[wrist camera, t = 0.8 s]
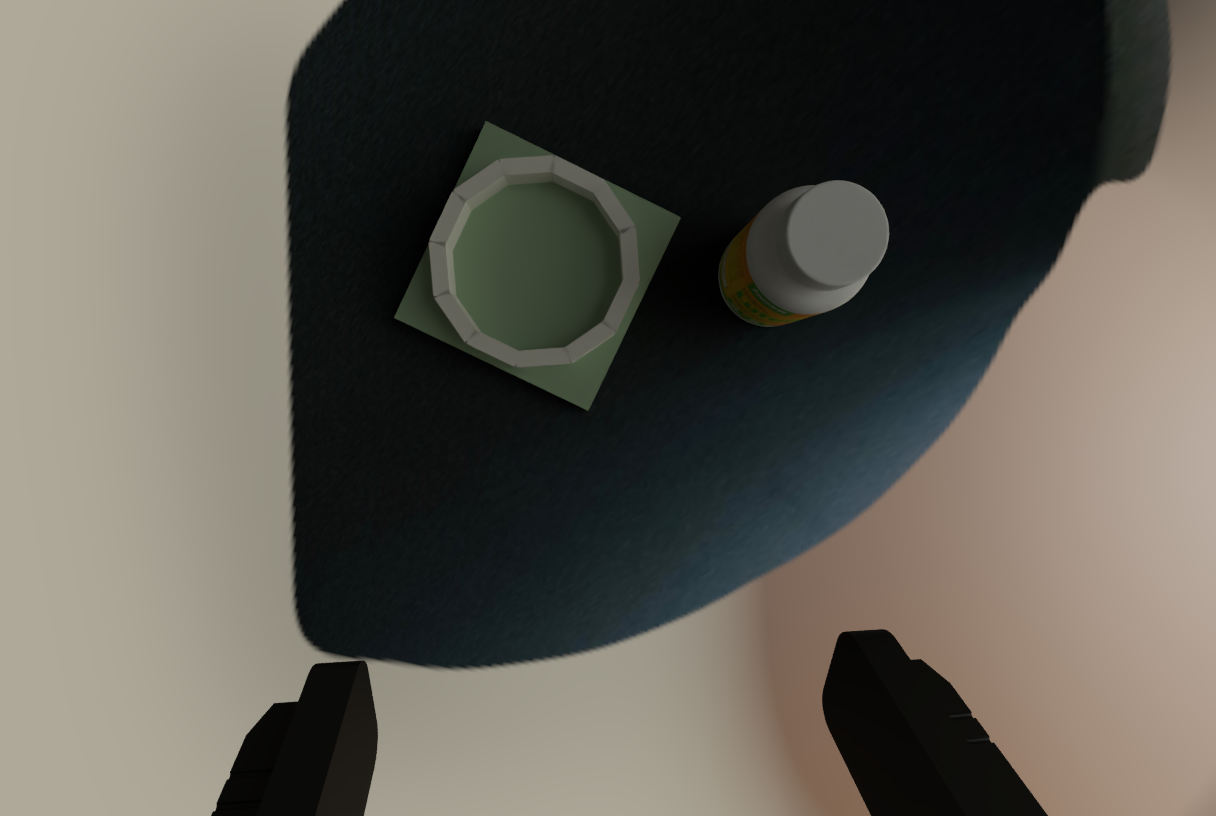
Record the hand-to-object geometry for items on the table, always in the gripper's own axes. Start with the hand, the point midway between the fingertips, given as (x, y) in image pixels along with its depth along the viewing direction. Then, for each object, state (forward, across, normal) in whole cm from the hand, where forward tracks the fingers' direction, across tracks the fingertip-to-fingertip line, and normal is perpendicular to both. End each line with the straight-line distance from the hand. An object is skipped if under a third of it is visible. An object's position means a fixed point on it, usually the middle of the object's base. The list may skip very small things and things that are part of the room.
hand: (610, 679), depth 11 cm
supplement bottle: (+24, -12, -1) cm, 27 cm away
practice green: (+26, 0, -1) cm, 26 cm away
